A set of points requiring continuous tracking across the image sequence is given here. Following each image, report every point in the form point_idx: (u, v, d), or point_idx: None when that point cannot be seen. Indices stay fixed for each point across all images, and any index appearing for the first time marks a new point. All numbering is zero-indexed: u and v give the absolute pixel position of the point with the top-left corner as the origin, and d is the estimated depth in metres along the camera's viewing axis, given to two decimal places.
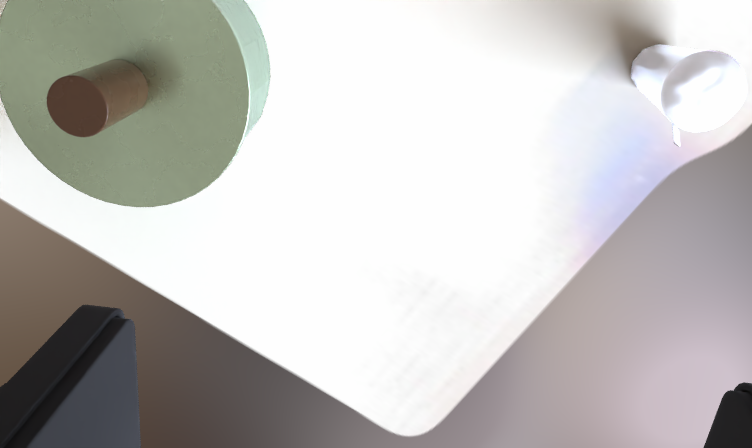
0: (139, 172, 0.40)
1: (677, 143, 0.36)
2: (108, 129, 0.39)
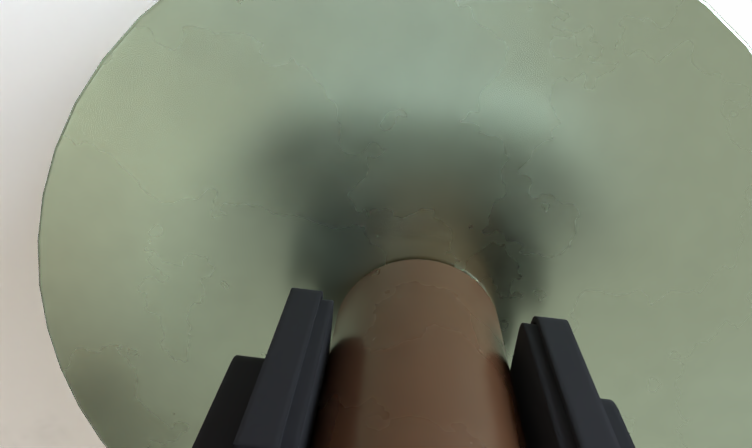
0: None
1: None
2: None
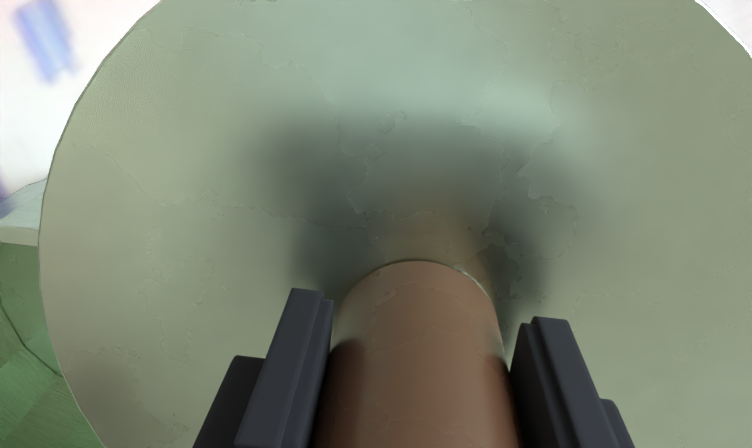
0: None
1: None
2: None
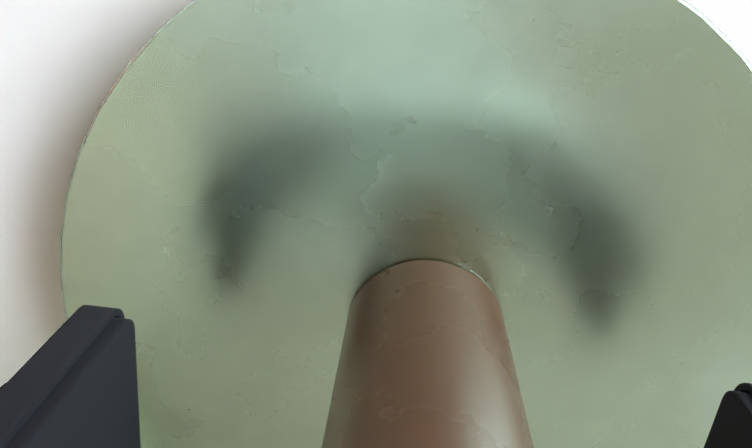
0: (630, 443, 0.14)
1: None
2: None
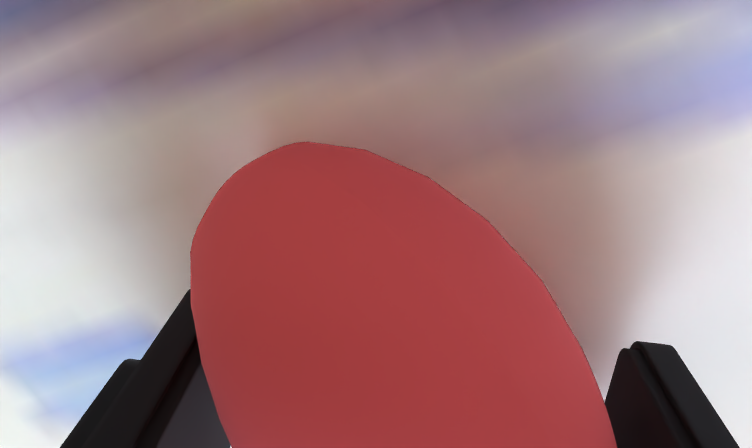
0: None
1: None
2: None
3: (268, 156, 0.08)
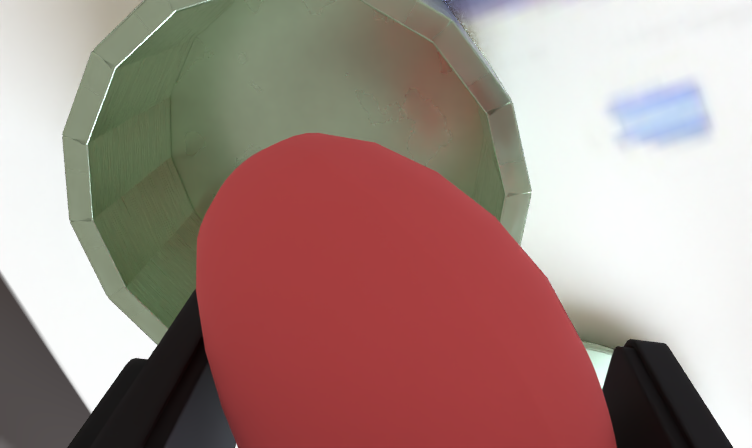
0: None
1: None
2: None
3: (278, 145, 0.08)
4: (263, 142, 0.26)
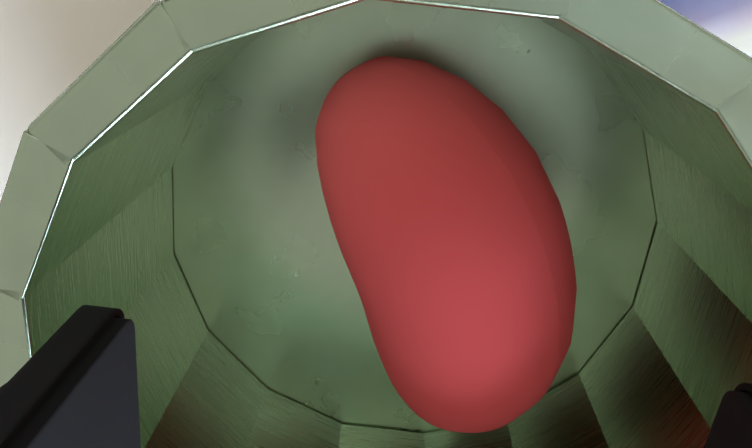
0: None
1: None
2: None
3: (371, 60, 0.14)
4: (315, 234, 0.17)
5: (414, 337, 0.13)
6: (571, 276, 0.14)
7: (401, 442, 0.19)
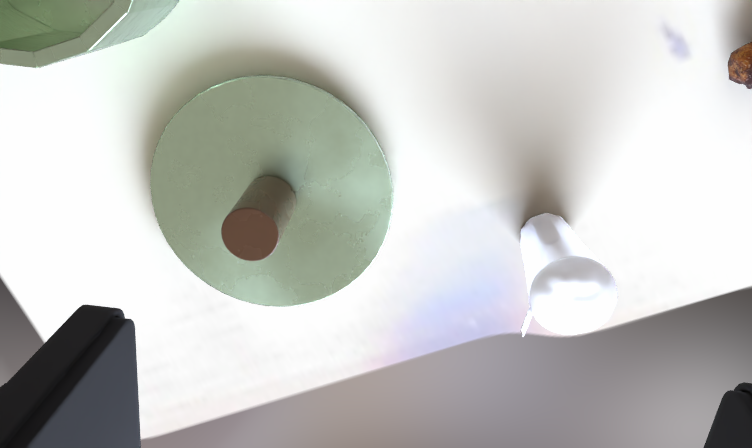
0: (233, 264, 0.42)
1: (523, 332, 0.33)
2: None
3: None
4: None
5: None
6: None
7: None
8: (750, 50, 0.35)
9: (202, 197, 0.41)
